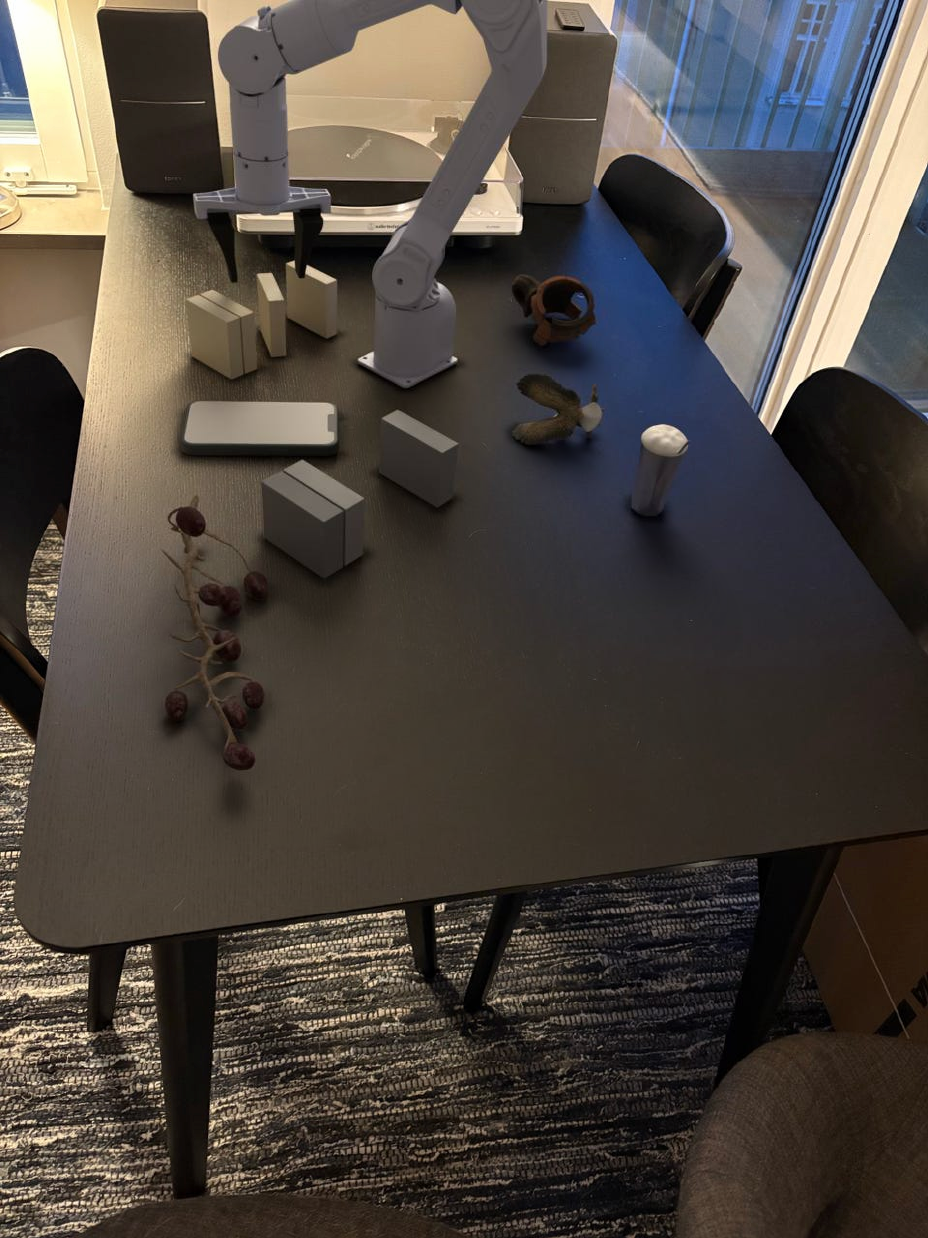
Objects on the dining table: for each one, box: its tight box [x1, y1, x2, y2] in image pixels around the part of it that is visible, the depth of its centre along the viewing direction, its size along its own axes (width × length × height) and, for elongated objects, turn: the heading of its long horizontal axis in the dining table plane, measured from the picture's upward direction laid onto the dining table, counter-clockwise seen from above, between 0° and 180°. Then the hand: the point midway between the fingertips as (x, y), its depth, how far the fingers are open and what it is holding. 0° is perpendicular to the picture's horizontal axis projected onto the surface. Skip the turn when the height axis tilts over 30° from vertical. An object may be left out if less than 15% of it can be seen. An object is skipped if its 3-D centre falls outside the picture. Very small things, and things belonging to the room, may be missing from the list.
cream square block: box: [256, 272, 287, 358], centre depth 114 cm, size 2×7×7 cm, turn 20°
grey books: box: [260, 409, 459, 580], centre depth 92 cm, size 18×8×6 cm, turn 140°
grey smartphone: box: [179, 400, 340, 457], centre depth 102 cm, size 9×2×16 cm
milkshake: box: [630, 423, 691, 517], centre depth 96 cm, size 5×5×10 cm
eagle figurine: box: [511, 372, 605, 446], centre depth 106 cm, size 8×7×9 cm
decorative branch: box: [160, 494, 270, 771], centre depth 79 cm, size 11×9×30 cm
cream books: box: [185, 260, 338, 380], centre depth 113 cm, size 17×7×7 cm, turn 140°
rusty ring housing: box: [510, 274, 597, 347], centre depth 123 cm, size 12×10×8 cm
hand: (266, 276), depth 111 cm, fingers open, 7 cm apart
